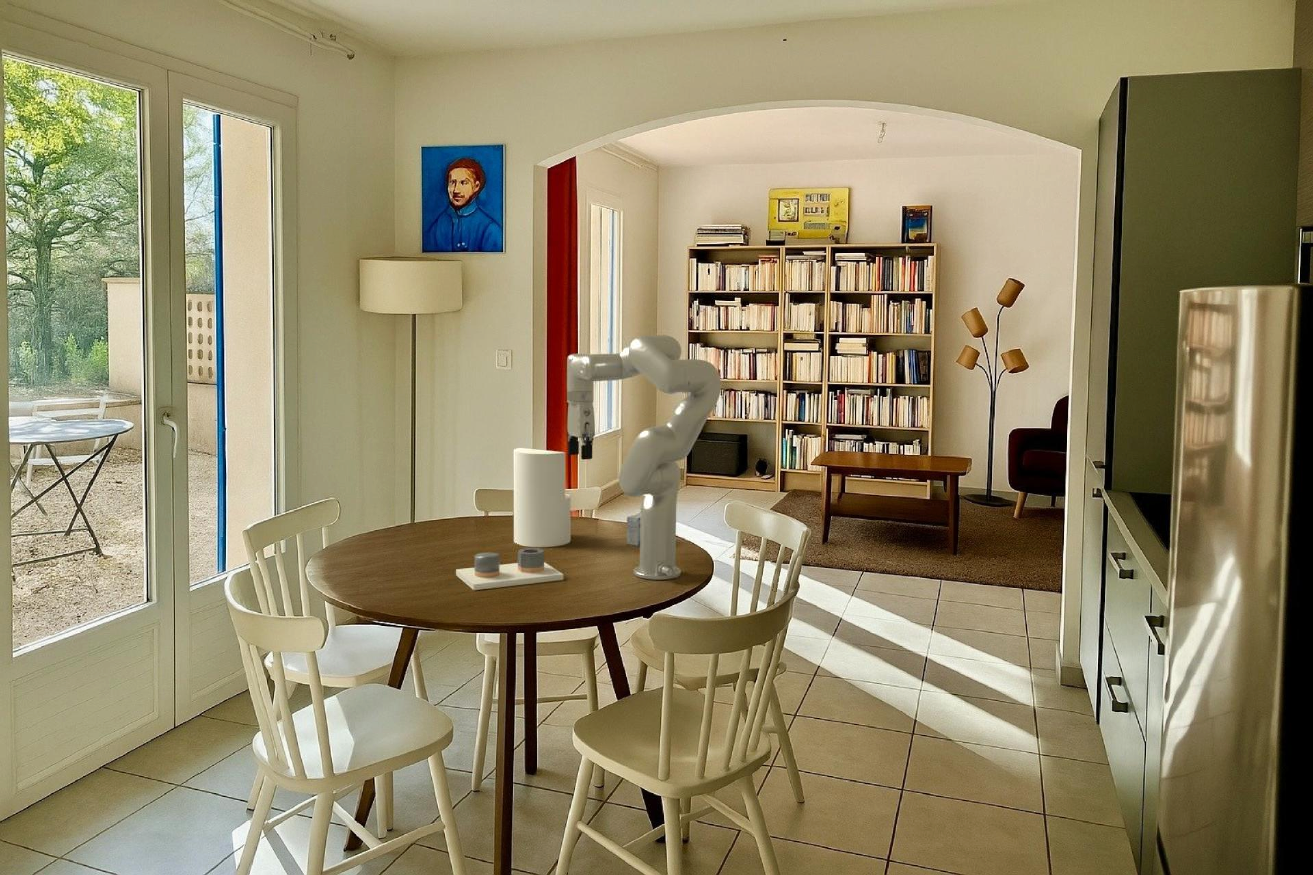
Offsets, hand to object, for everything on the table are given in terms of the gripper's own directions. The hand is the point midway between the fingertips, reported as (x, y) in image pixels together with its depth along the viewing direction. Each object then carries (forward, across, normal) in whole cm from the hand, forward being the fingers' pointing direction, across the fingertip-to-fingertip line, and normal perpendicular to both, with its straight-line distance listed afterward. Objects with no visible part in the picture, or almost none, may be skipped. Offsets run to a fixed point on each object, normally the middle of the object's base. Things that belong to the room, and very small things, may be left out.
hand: (580, 456), depth 282 cm
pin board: (+28, -17, +27) cm, 43 cm away
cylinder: (+28, +20, +4) cm, 35 cm away
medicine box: (+29, +5, -22) cm, 36 cm away
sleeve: (+27, -17, +21) cm, 38 cm away
